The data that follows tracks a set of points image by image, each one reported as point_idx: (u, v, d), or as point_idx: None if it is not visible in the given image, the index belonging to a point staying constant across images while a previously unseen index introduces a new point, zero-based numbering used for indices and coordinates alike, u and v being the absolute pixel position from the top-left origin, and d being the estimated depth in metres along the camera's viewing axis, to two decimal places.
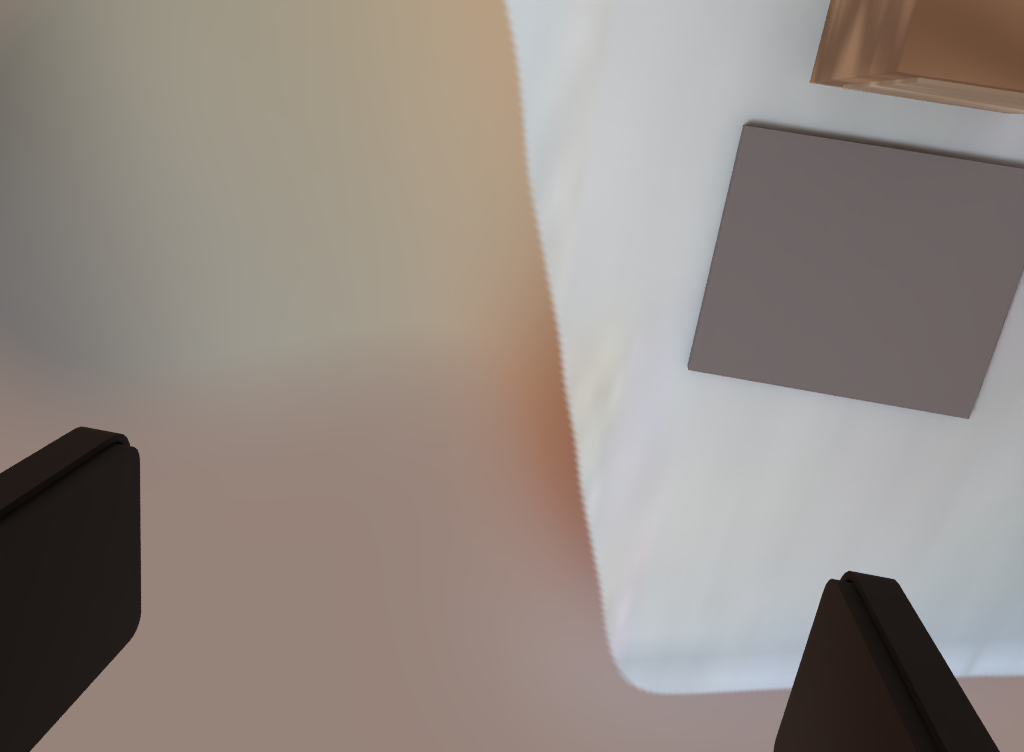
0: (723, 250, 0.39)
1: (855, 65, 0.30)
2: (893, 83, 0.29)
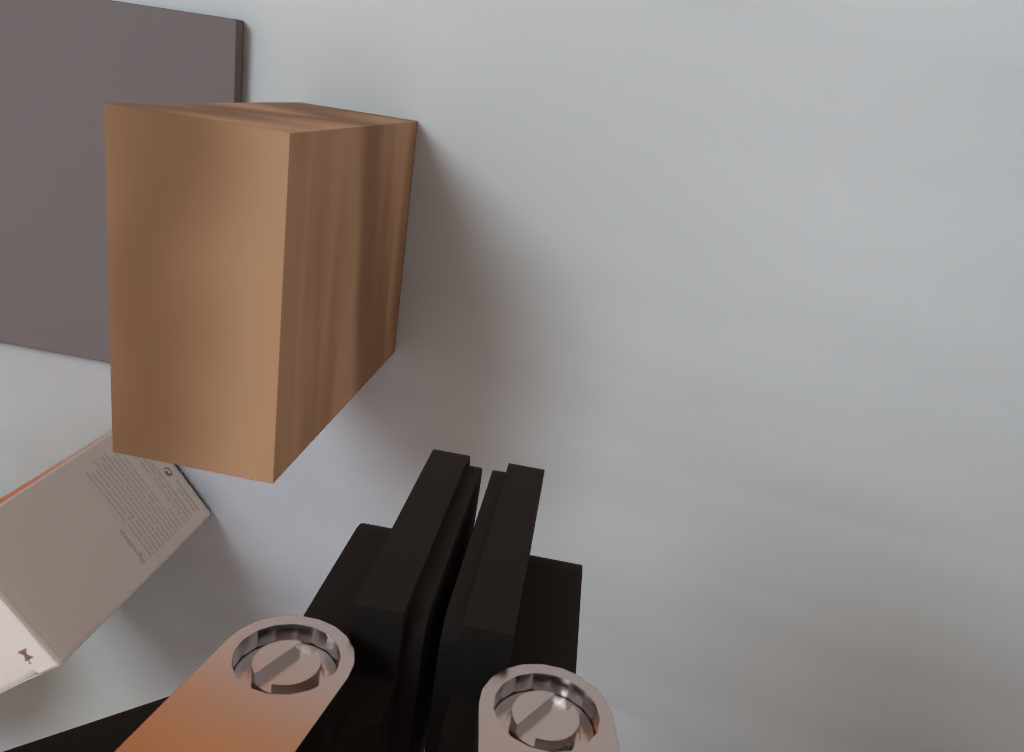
0: (83, 6, 0.29)
1: (222, 105, 0.23)
2: None
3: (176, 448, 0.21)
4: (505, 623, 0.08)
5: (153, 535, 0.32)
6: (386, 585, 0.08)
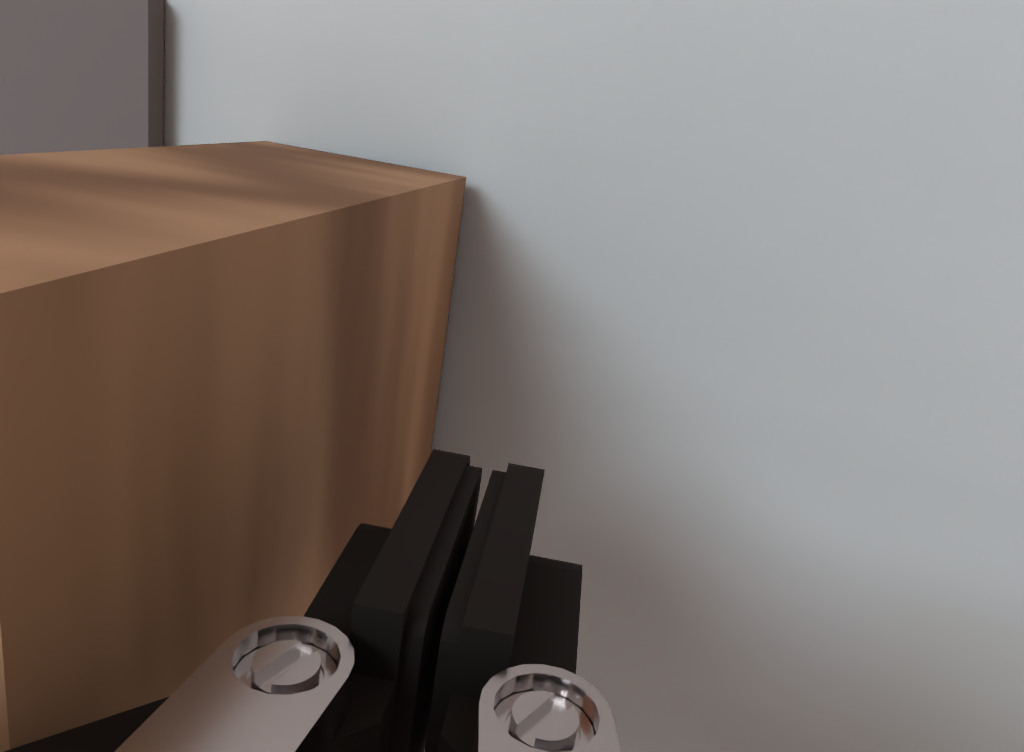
0: None
1: (30, 159, 0.11)
2: None
3: None
4: (505, 624, 0.08)
5: None
6: (386, 585, 0.08)
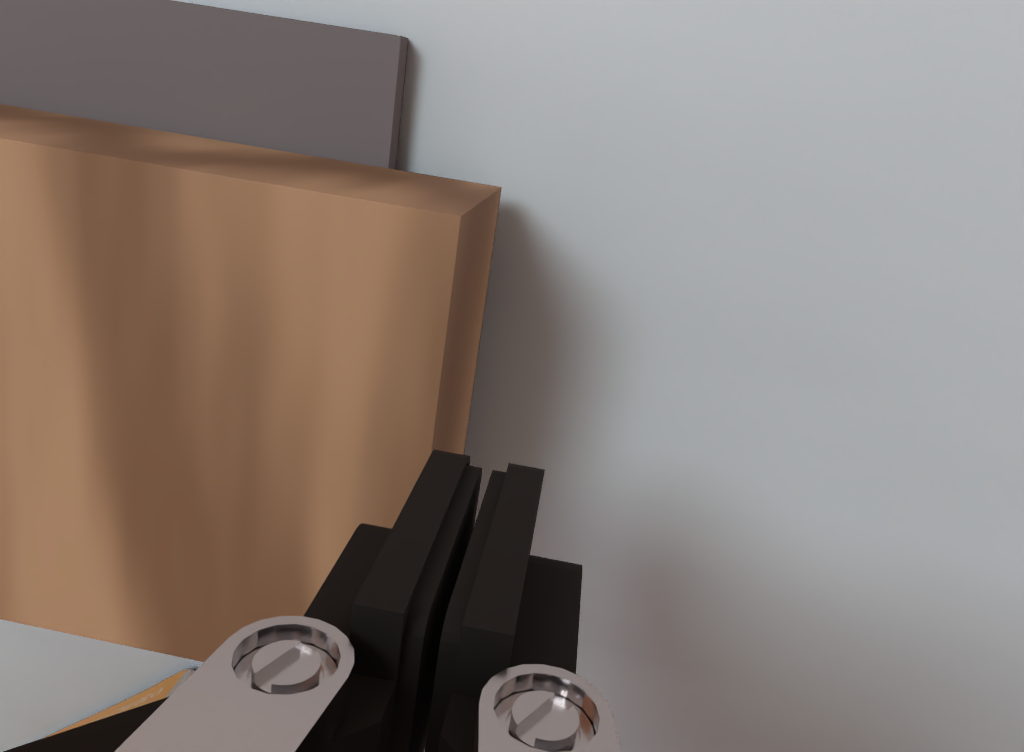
0: (117, 10, 0.16)
1: (160, 133, 0.16)
2: None
3: None
4: (505, 623, 0.08)
5: None
6: (386, 585, 0.08)
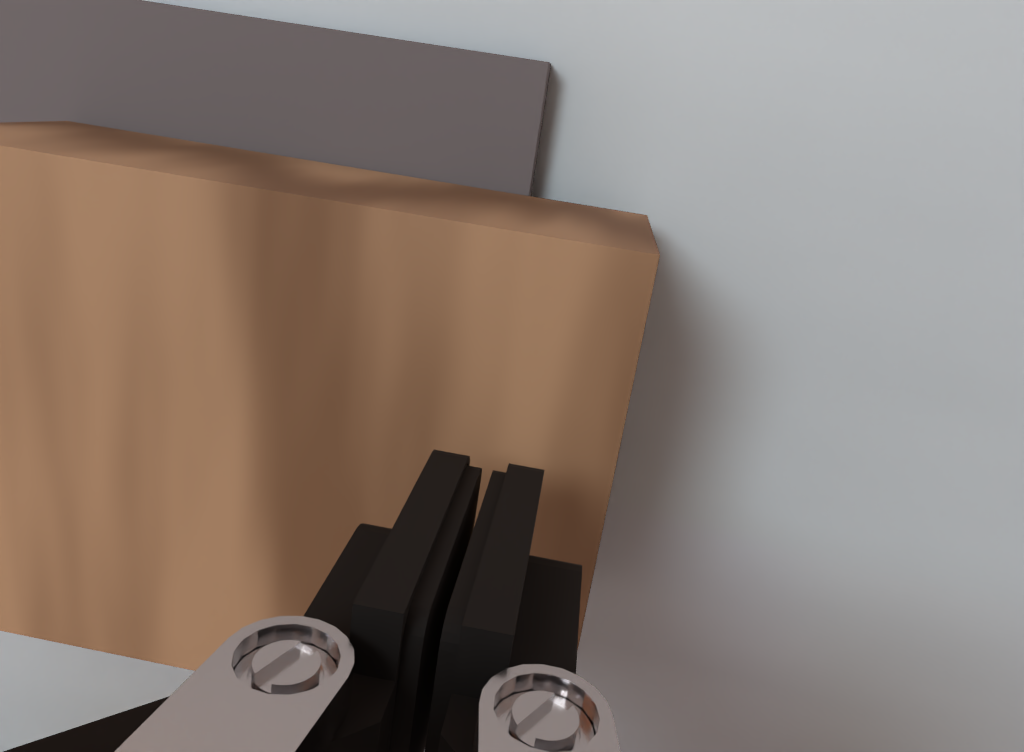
0: (254, 36, 0.16)
1: (298, 161, 0.16)
2: None
3: None
4: (505, 624, 0.08)
5: None
6: (386, 585, 0.08)
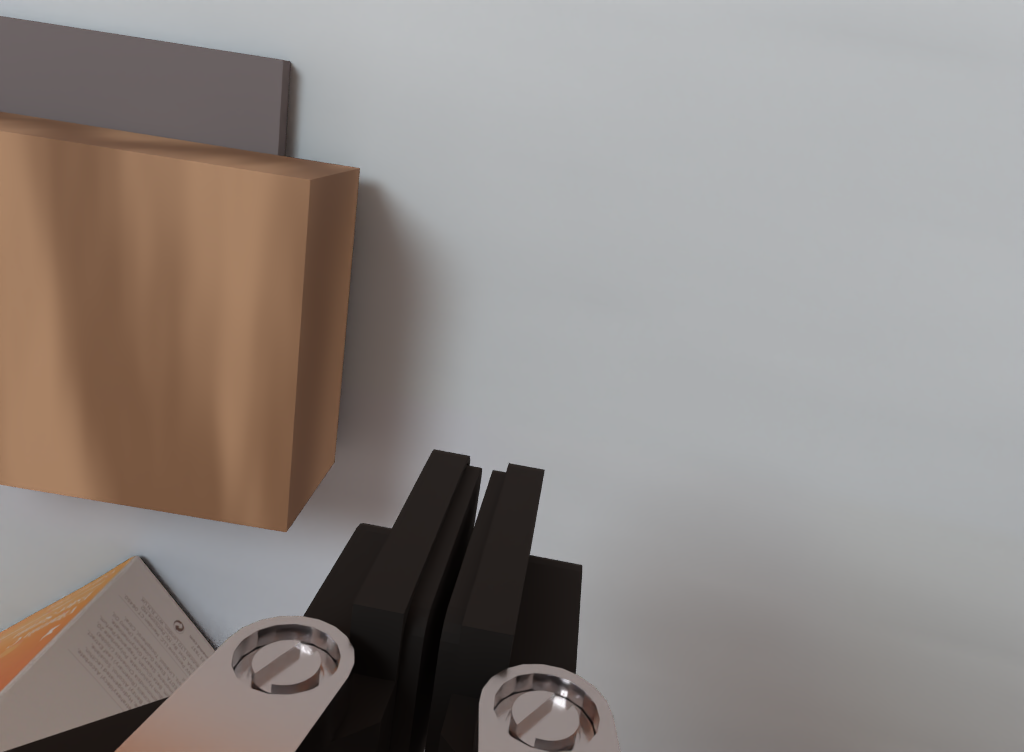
0: (74, 40, 0.22)
1: (108, 130, 0.22)
2: None
3: None
4: (506, 623, 0.08)
5: None
6: (386, 585, 0.08)
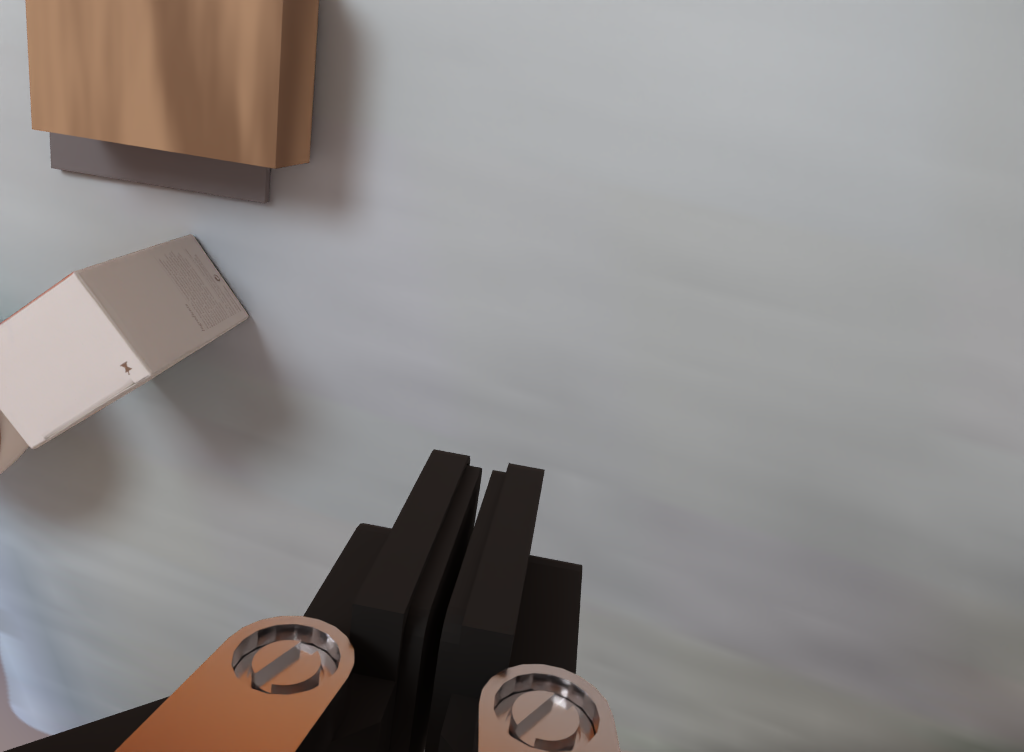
0: None
1: None
2: None
3: None
4: (505, 624, 0.08)
5: (209, 316, 0.42)
6: (386, 585, 0.08)
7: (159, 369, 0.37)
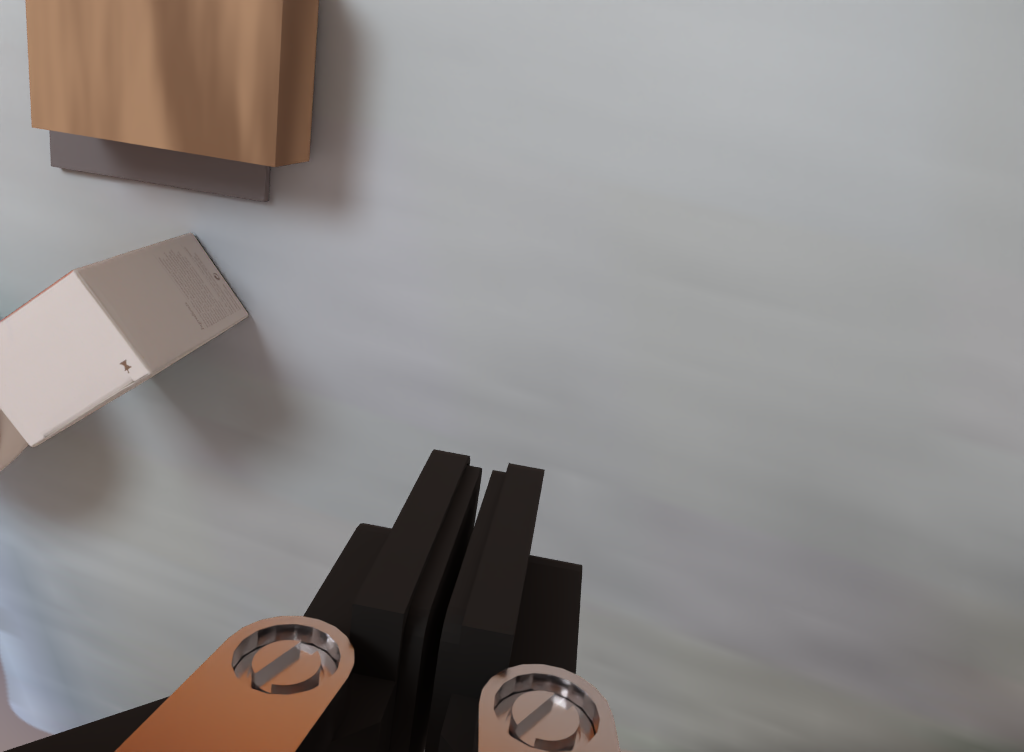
0: None
1: None
2: None
3: None
4: (505, 624, 0.08)
5: (208, 314, 0.42)
6: (386, 585, 0.08)
7: (158, 367, 0.37)
